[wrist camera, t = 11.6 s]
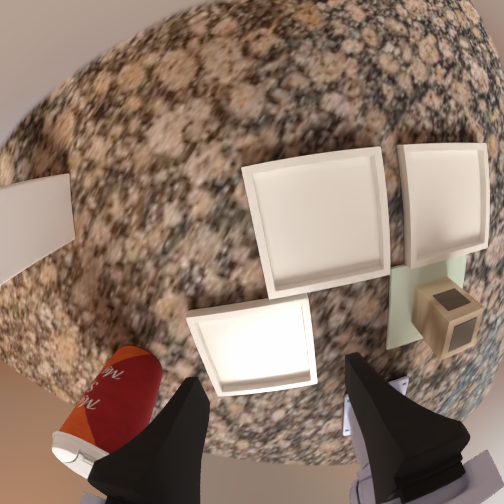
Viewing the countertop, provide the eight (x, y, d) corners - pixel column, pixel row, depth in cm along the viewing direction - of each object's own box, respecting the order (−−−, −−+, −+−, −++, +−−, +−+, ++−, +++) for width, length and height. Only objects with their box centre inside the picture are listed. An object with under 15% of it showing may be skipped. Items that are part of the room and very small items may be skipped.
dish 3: (480, 243, 20) (487, 247, 19) (404, 263, 21) (410, 269, 20) (478, 142, 17) (486, 143, 16) (395, 145, 18) (403, 144, 17)
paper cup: (114, 323, 24) (41, 430, 11) (183, 360, 25) (144, 485, 12) (102, 367, 26) (50, 459, 13) (160, 398, 27) (127, 499, 14)
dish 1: (384, 268, 21) (390, 274, 20) (268, 292, 22) (269, 299, 21) (373, 146, 18) (380, 146, 17) (242, 166, 19) (240, 167, 18)
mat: (453, 324, 23) (455, 326, 23) (385, 347, 24) (387, 350, 24) (464, 248, 20) (467, 249, 20) (389, 267, 21) (391, 269, 21)
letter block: (442, 311, 22) (474, 345, 16) (411, 322, 23) (440, 361, 17) (447, 276, 21) (484, 306, 15) (414, 285, 21) (449, 321, 16)
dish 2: (315, 375, 25) (317, 383, 24) (219, 388, 26) (218, 396, 25) (305, 290, 22) (308, 298, 21) (188, 310, 23) (185, 317, 22)
